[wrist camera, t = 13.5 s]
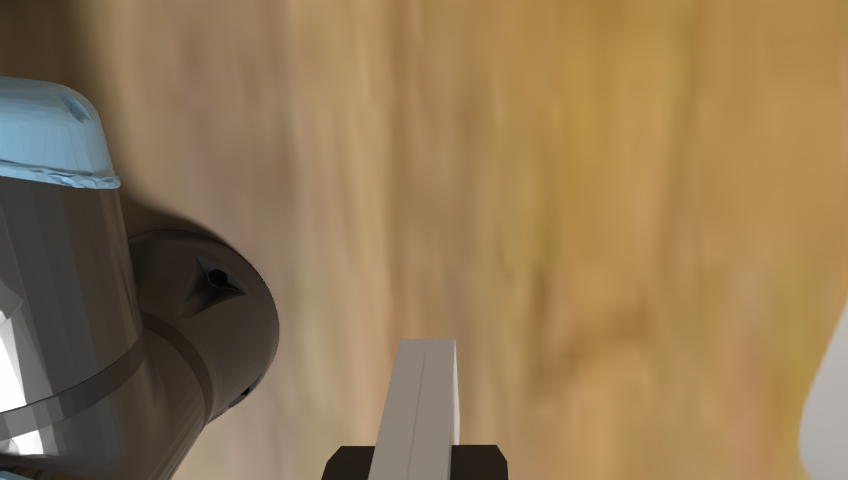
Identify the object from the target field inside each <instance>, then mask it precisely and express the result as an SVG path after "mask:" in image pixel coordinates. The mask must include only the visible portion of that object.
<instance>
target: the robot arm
mask: <svg viewBox="0 0 848 480" xmlns="http://www.w3.org/2000/svg"><path fill="white" fill-rule="evenodd" d="M118 187H120V178H119V175H117V174H116V173H115V172H114V169H113V166H112V162H111V158H110V154H109V151H108V147H107V143H106V139H105V135H104V132H103V128H102V124H101V120H100V117H99V115H98V113H97V111H96V109H95V108H94V106H93V105H92V104H91V103H90V101H89V100H88V99H87V98H85V97H84V96H83V95H82V94H80V93H79V92H77V91H75V90H73V89H71V88H69V87H67V86H64V85H60V84H57V83H52V82H47V81H41V80H33V79H24V78H15V77H5V76H0V480H171V478H172V477H173V475H174V474H175V472H176V471H177V469H178V467H179V466H180V464H181V463H182V461H183V460H184V458H185V457H186V455H187V453H188V452H189V450H190V449H191V447H192V446H193V444H194V442H195V441H196V439H197V437H198V436H199V434H200V433H201V431H202V430H203V428H204V427H205V426H206V425H207V424H209V423H210V422H212V421H213V420H214V419H216V418H217V417H219V416H220V415H222V414H223V413H225V412H226V411H227V410H228V409H229V408H231V407H233V406H235V405H236V404H238V403H239V402H241V401H242V400H243V399H245V398H246V397H247V396H248V395H249V394H250V393H251V392H252V391H253V390H254V389H255V388H256V387H257V386H258V384H259V383H260V382H261V380H262V379H263V377H264V375H265V373H266V372H267V370H268V368H269V367H270V365H271V363H272V361H273V359H274V356H275V354H276V351H277V347H278V342H279V320H278V315H277V310H276V307H275V304H274V301H273V299H272V297H271V294H270V292H269V290H268V289H267V287H266V285H265V284H264V282H263V281H262V279H261V278H260V277H259V275H258V274H257V273H256V272H255V270H254V269H253V268H252V267H251V266H250V265H249V264H248V263H247V262H246V261H245V260H244V259H242V258H241V257H240V256H239V255H237V254H236V253H235V252H233V251H232V250H230V249H229V248H227V247H225V246H224V245H222V244H220V243H218V242H216V241H214V240H212V239H209V238H207V237H204V236H201V235H198V234H194V233H190V232H184V231H176V230H160V231H152V232H147V233H143V234H140V235H137V236H134V237H132V238H130V239H128V240H127V236H126V231H125V226H124V221H123V215H122V209H121V203H120V198H119V192H118ZM459 427H460V420H459V401H458V382H457V363H456V345H455V339H404V340H399V345H398V349H397V354H396V358H395V362H394V367H393V371H392V376H391V380H390V384H389V389H388V393H387V398H386V402H385V407H384V411H383V415H382V420H381V424H380V429H379V433H378V437H377V442H376V446H341V447H340V448H339V449H338V450H337V451H336V452H335V454H334V455H333V456H332V457H331V458H330V459H329V460H328V462H327V463H326V467H325V470H324V473H323V476H322V479H321V480H508V468H507V461H506V459H505V458H504V456H503V454H502V453H501V451H500V450H499V448H498V447H497V445H459Z"/></svg>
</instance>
